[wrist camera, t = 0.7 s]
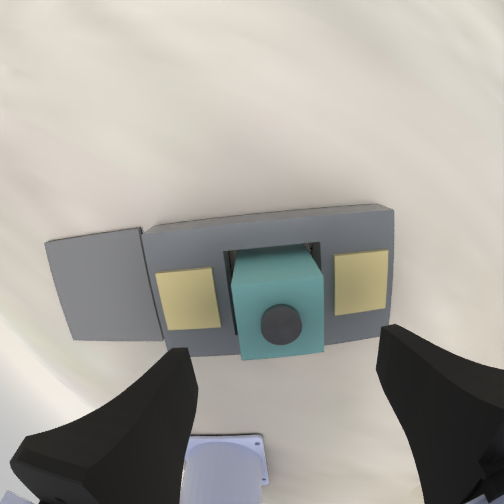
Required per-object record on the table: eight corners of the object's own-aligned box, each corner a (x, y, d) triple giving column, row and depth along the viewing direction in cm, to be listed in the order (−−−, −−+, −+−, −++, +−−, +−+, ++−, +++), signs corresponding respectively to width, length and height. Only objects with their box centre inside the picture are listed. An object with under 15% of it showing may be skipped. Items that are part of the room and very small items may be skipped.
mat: (164, 337, 21) (163, 340, 20) (75, 337, 21) (73, 340, 21) (140, 227, 19) (138, 228, 18) (47, 241, 19) (44, 243, 18)
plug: (305, 300, 20) (326, 358, 14) (245, 306, 20) (241, 367, 14) (302, 241, 19) (326, 281, 13) (237, 247, 19) (230, 290, 13)
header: (374, 317, 20) (389, 337, 18) (177, 337, 21) (168, 359, 18) (377, 203, 18) (396, 210, 15) (154, 225, 19) (139, 236, 16)
